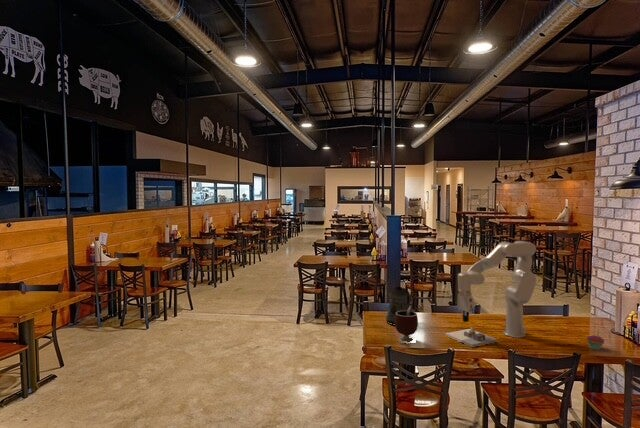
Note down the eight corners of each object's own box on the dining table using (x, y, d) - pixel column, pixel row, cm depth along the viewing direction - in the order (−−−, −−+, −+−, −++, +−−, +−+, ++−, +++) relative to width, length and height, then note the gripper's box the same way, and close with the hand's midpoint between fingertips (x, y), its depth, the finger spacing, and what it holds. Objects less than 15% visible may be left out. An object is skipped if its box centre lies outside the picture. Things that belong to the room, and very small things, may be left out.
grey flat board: (445, 336, 255) (445, 328, 255) (469, 331, 263) (469, 324, 263) (471, 347, 235) (471, 339, 235) (497, 342, 243) (497, 334, 243)
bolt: (467, 335, 250) (467, 326, 249) (470, 334, 251) (470, 326, 250) (480, 340, 241) (480, 331, 240) (483, 339, 241) (483, 330, 241)
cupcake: (597, 345, 236) (597, 325, 235) (608, 350, 227) (608, 329, 227) (582, 345, 235) (583, 325, 235) (593, 351, 227) (593, 330, 226)
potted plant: (382, 324, 282) (382, 289, 281) (391, 317, 299) (391, 283, 298) (406, 327, 274) (405, 291, 273) (413, 320, 291) (413, 285, 290)
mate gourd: (413, 346, 239) (413, 312, 238) (391, 342, 246) (391, 310, 246) (421, 338, 252) (421, 306, 252) (400, 335, 259) (400, 304, 259)
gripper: (478, 294, 248) (479, 323, 248) (460, 289, 261) (461, 317, 262) (468, 295, 245) (470, 325, 245) (451, 291, 258) (452, 319, 259)
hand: (465, 321), depth 254 cm, fingers closed
